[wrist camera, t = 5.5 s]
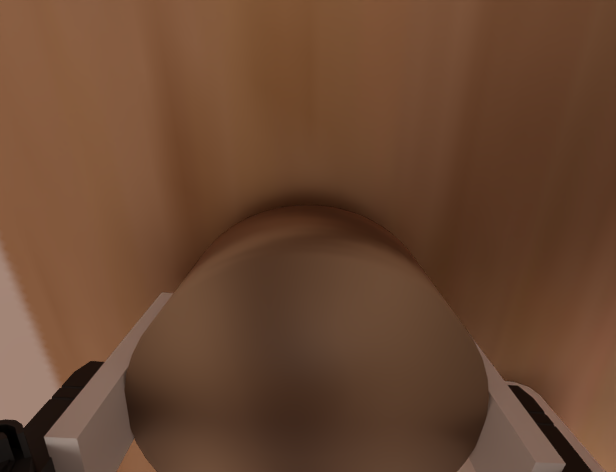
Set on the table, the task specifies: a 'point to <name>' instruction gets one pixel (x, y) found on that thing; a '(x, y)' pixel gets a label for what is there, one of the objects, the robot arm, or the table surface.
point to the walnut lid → (306, 356)
